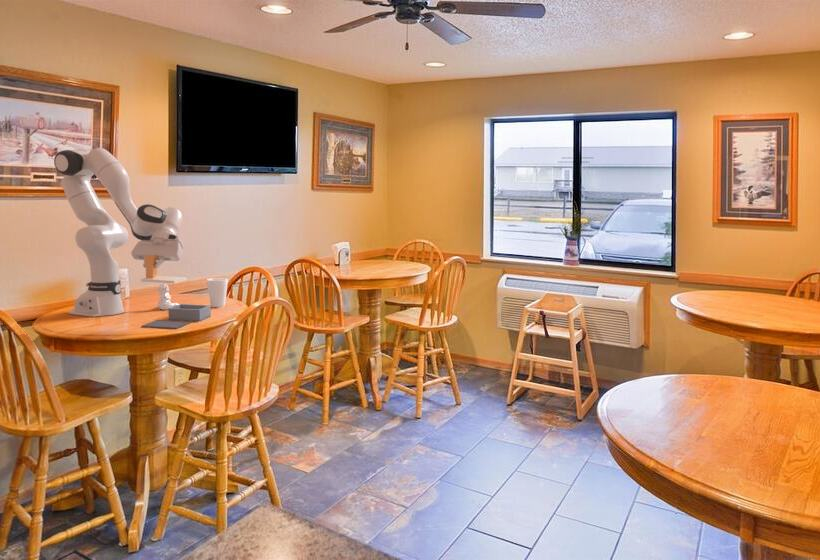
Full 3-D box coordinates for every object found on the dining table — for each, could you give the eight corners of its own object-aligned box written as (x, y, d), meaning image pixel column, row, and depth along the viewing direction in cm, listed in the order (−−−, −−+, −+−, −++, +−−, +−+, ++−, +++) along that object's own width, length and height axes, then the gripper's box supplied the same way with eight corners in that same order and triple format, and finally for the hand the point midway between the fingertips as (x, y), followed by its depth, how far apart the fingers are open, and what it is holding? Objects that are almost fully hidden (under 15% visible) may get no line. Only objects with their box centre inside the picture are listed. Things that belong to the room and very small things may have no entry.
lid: (141, 281, 237) (140, 256, 235) (155, 277, 247) (154, 254, 245) (174, 283, 235) (173, 258, 234) (186, 279, 245) (186, 255, 243)
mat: (141, 327, 239) (141, 325, 239) (156, 321, 250) (156, 319, 250) (176, 329, 237) (176, 327, 237) (190, 323, 248) (190, 321, 248)
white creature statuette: (180, 307, 279) (179, 282, 277) (170, 311, 270) (169, 285, 268) (162, 306, 280) (161, 281, 278) (151, 310, 272) (150, 284, 270)
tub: (168, 319, 253) (168, 308, 252) (180, 315, 263) (180, 303, 262) (199, 321, 251) (199, 310, 250) (210, 316, 261) (210, 305, 260)
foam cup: (232, 306, 285) (231, 279, 283) (216, 309, 277) (216, 281, 275) (219, 303, 290) (218, 277, 288) (203, 306, 282) (202, 279, 280)
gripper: (135, 235, 247) (122, 261, 239) (182, 236, 244) (170, 263, 236) (142, 244, 252) (130, 270, 244) (188, 246, 249) (177, 272, 241)
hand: (150, 267), depth 240 cm, fingers closed on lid, 3 cm apart
